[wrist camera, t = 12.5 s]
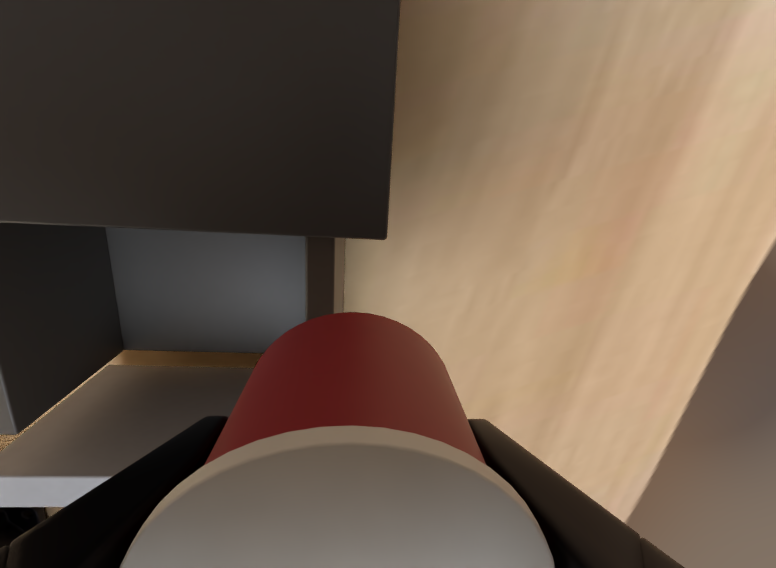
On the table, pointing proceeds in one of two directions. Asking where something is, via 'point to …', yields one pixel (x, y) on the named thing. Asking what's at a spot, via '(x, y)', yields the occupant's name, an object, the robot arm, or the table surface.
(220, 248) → the pod drawer
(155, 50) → the dark brown storage box
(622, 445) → the table surface
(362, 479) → the coffee pod
